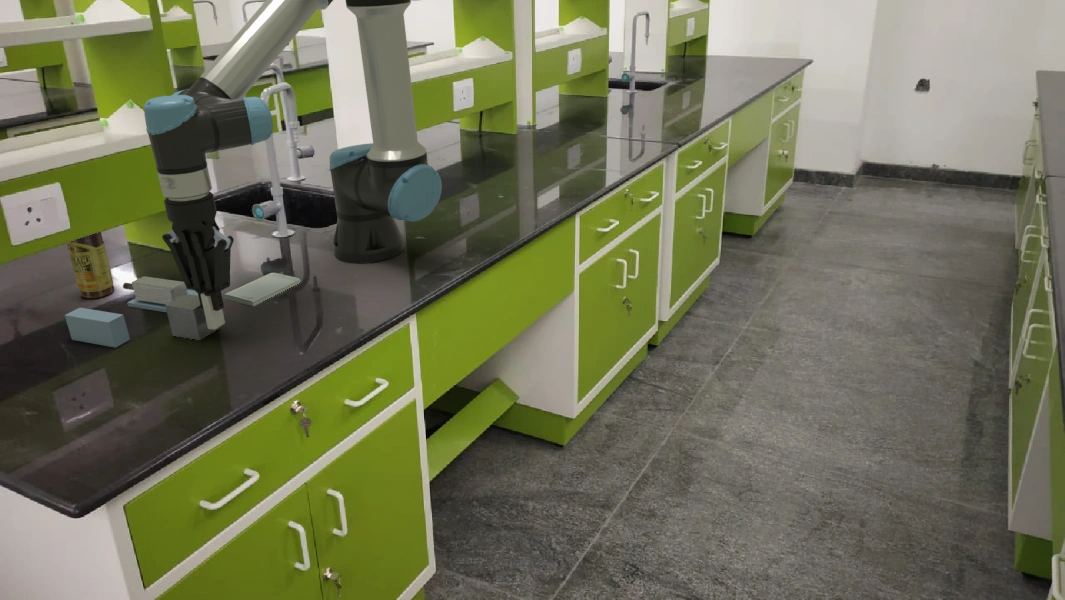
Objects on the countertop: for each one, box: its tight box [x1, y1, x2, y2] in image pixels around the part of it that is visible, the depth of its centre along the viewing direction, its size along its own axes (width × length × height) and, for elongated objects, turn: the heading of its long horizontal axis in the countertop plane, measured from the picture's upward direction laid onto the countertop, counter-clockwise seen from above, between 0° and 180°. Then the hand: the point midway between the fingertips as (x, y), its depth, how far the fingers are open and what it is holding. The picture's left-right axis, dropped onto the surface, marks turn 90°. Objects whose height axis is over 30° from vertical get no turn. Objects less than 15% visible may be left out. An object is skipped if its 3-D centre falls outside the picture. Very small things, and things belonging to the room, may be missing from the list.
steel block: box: [165, 294, 221, 341], centre depth 142 cm, size 6×5×6 cm
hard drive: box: [222, 272, 302, 307], centre depth 159 cm, size 2×8×12 cm
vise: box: [64, 288, 198, 348], centre depth 149 cm, size 13×23×5 cm, turn 159°
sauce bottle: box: [66, 231, 115, 299], centre depth 156 cm, size 7×6×20 cm
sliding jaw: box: [122, 275, 188, 304], centre depth 153 cm, size 14×3×4 cm, turn 69°
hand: (216, 325), depth 140 cm, fingers closed
